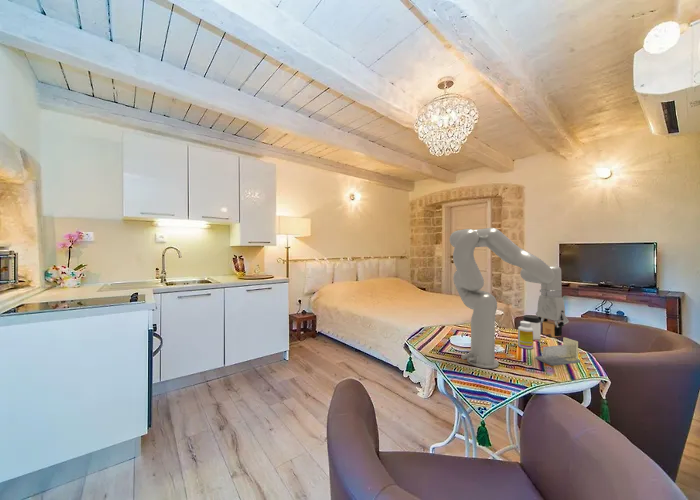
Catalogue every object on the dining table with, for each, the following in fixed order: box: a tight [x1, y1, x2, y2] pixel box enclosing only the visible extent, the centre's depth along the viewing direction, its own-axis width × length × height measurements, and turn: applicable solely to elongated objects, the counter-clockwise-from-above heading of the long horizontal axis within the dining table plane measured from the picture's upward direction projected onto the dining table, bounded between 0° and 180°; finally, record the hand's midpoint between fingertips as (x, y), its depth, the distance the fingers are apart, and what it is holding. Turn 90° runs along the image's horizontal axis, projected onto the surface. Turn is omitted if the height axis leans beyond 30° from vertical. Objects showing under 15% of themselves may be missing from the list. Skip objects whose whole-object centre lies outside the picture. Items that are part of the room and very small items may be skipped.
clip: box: [542, 320, 561, 338], centre depth 127 cm, size 4×5×6 cm
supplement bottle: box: [517, 320, 534, 350], centre depth 146 cm, size 7×7×13 cm
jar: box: [522, 314, 542, 341], centre depth 162 cm, size 9×8×12 cm
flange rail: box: [535, 337, 581, 367], centre depth 128 cm, size 16×8×9 cm, turn 105°
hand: (551, 333), depth 127 cm, fingers closed on clip, 5 cm apart
